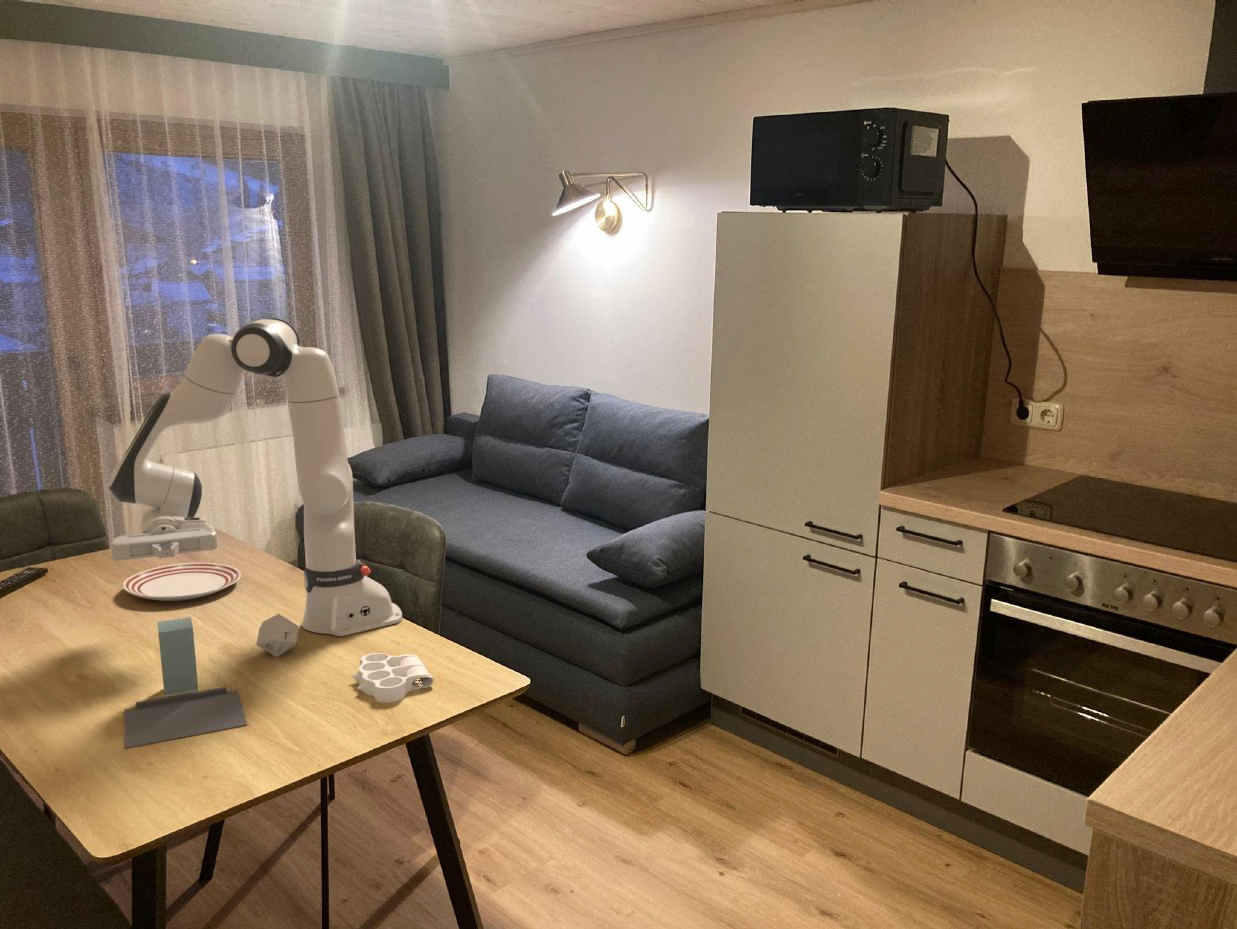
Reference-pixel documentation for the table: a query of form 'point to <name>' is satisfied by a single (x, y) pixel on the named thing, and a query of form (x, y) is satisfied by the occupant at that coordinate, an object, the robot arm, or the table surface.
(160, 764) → the table surface
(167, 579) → the dinner plate
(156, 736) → the charcoal mat
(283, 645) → the die
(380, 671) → the white multi-hole holder
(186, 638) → the block
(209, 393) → the robot arm
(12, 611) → the table surface
